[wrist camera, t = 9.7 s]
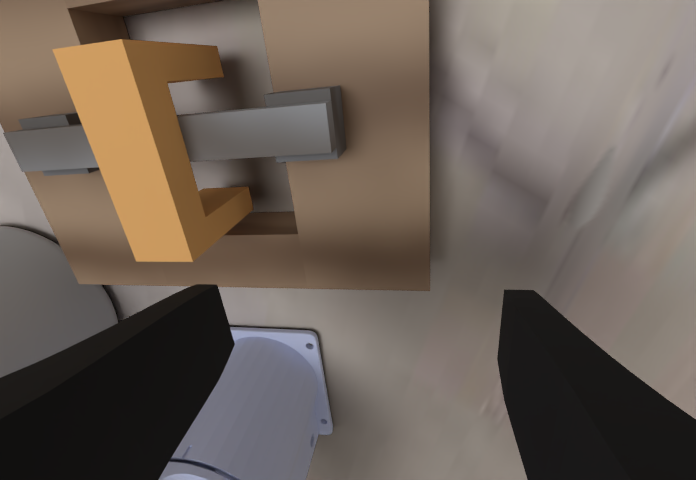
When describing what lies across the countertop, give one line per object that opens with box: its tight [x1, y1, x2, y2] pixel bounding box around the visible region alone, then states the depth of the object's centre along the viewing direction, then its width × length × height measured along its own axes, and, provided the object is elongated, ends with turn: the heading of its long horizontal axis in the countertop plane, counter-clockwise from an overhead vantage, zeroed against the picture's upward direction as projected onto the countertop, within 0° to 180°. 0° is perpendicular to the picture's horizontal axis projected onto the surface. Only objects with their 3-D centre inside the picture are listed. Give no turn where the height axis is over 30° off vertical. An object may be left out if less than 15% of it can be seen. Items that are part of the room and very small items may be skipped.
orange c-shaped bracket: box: [52, 39, 253, 262], centre depth 15 cm, size 7×2×6 cm, turn 6°
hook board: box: [0, 0, 430, 291], centre depth 16 cm, size 16×20×6 cm
